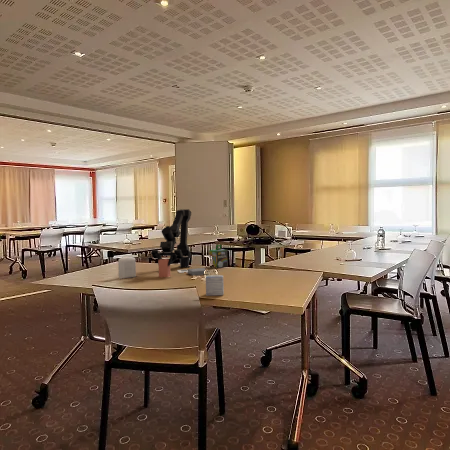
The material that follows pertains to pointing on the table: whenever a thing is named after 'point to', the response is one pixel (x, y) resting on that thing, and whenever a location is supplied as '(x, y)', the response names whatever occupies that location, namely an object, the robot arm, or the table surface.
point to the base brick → (196, 271)
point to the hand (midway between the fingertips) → (163, 265)
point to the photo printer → (127, 267)
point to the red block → (164, 268)
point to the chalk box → (219, 257)
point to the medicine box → (214, 285)
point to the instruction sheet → (182, 271)
